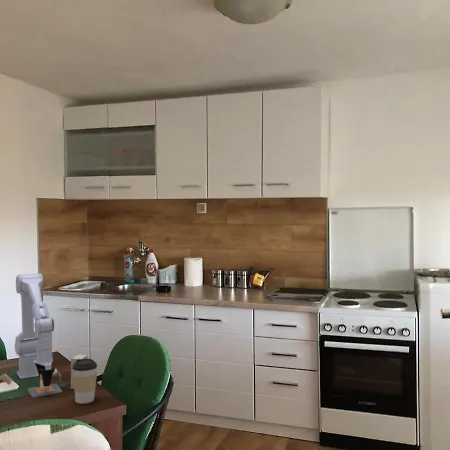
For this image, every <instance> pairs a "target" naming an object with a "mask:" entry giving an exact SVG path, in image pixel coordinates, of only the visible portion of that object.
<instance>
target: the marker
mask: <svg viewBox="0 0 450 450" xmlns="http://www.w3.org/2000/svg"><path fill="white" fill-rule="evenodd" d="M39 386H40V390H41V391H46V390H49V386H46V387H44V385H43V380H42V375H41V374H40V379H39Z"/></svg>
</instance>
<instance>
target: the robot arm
mask: <svg viewBox="0 0 450 450" xmlns="http://www.w3.org/2000/svg"><path fill="white" fill-rule="evenodd" d="M43 285H44V278H43V274H41V273H40V272H38V273H26V274H25V273H24V274H17V275H16V278H15V292H16V294H20V301H21V303H20V304H21V331H20V333H19V334H18V335H17V336H16V337H15V340H14V341H15V342H14V352H15V354H16V355H17V356H18V370H17V371H16V374H17V376H18V377H19V379H20V380H22V379H29V378H35V377H38V380H40V374H41V375H42V380H43V385H44V387H46V386H50V383H51V378H52V375H53V372H54V371H55V369H56V368H55V367H52V363H53V361H54V359H53V332H54V330H55V321H54V318H53V317H52V315H51V314H50V312H49V310H48V306H47V304H46V302H43V298H42V292H41V290H42V288H43Z"/></svg>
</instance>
